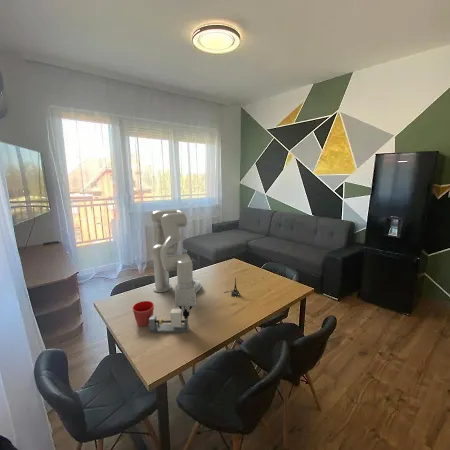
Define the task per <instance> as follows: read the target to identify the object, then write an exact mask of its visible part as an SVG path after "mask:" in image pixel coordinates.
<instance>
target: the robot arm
mask: <svg viewBox="0 0 450 450" xmlns="http://www.w3.org/2000/svg"><path fill="white" fill-rule="evenodd" d="M150 218H151V221H152V223H153V226H154V228H153V231H154V232H153V236H154V237H153V239H154V243H155V245H154V246H152V248H151V254H152V260H153V269H154V270H153V271H154V272H153V273H154V286H152V290H153V291H154V292H156V293H166V292H169V291H170V290H171V289H172V287H173V286H172V284H171V283H170V273H169V272H173V271H176V278H177V279H176V282H177V286H176V292H174V293H175V294H174V295H175V296H174V298H175V299H174V302H175V303H174V304H175V305H174V307H175V308H176V309H181V310H182V317H183V318H184V320H185V319H188V320H189V316H190V310H192V309H193V308H196V307H197V305H198V304H197V293H196V290H195V286H194V284H196V282H194V281H193V278H194V277H193V274H194V273H193V261H192V259H191V257H190V256H189V254H187V253H181V254H179V248H180V247H179V245H180V241H181V239H182V234H181V231H180V228H185V227H186V226H187V225H188V218H187V216H186V214H185V213H184V212H183V211H181V210H180V209H165V210H164V209H163V210H154V211H152V212H151V215H150ZM186 307H187V308H186Z"/></svg>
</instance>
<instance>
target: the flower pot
mask: <svg viewBox="0 0 450 450" xmlns="http://www.w3.org/2000/svg"><path fill="white" fill-rule="evenodd" d="M154 307H155V304H154V303H153V302H152V301H149V300H142V301H140V302H136V303H135V304H134V305H133V306H132V313H133V315H134V319H135V322H136V324H137V326H139V327H147V326H150V325H149V319H150V317H151V315H154Z"/></svg>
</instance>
